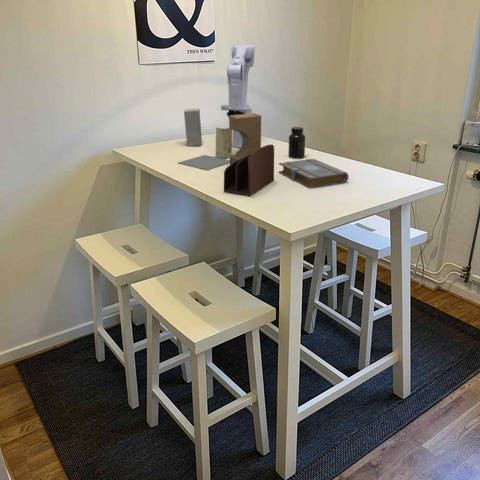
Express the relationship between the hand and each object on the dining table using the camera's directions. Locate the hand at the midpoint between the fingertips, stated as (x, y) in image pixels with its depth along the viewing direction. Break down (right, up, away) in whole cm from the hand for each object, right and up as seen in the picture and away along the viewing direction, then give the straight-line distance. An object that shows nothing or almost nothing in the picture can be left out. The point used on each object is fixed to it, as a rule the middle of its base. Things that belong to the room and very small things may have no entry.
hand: (235, 129), depth 203 cm
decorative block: (+4, -19, -16) cm, 25 cm away
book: (+28, -25, -27) cm, 46 cm away
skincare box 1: (-19, -3, +20) cm, 28 cm away
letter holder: (+5, -28, -37) cm, 47 cm away
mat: (-12, -16, -9) cm, 22 cm away
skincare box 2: (-5, -12, -1) cm, 13 cm away
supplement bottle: (+25, -12, 0) cm, 28 cm away
